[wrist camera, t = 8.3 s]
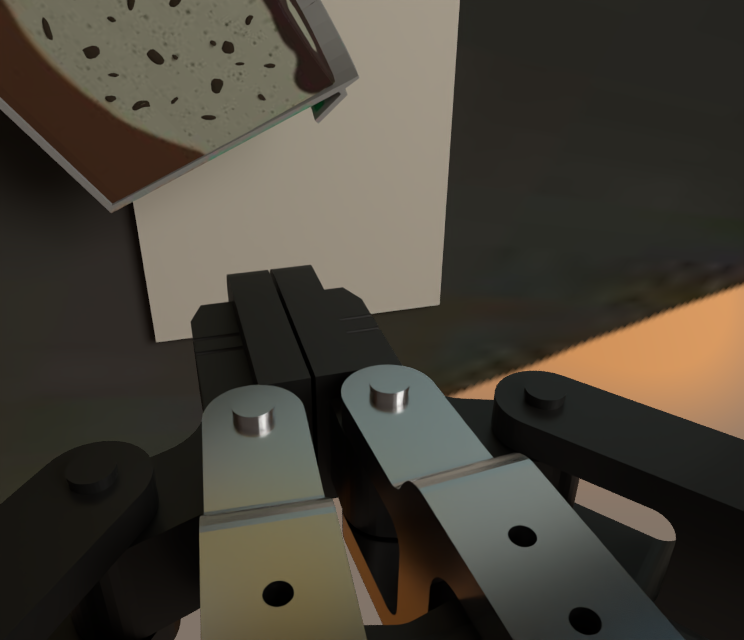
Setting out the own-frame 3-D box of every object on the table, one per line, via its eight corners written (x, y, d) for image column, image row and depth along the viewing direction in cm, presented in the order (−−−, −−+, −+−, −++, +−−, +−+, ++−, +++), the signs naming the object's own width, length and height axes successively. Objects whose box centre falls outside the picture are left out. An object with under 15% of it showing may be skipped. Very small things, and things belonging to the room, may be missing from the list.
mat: (155, 337, 33) (156, 342, 33) (57, -263, 22) (55, -266, 22) (435, 300, 37) (439, 304, 36) (470, -234, 26) (475, -236, 25)
